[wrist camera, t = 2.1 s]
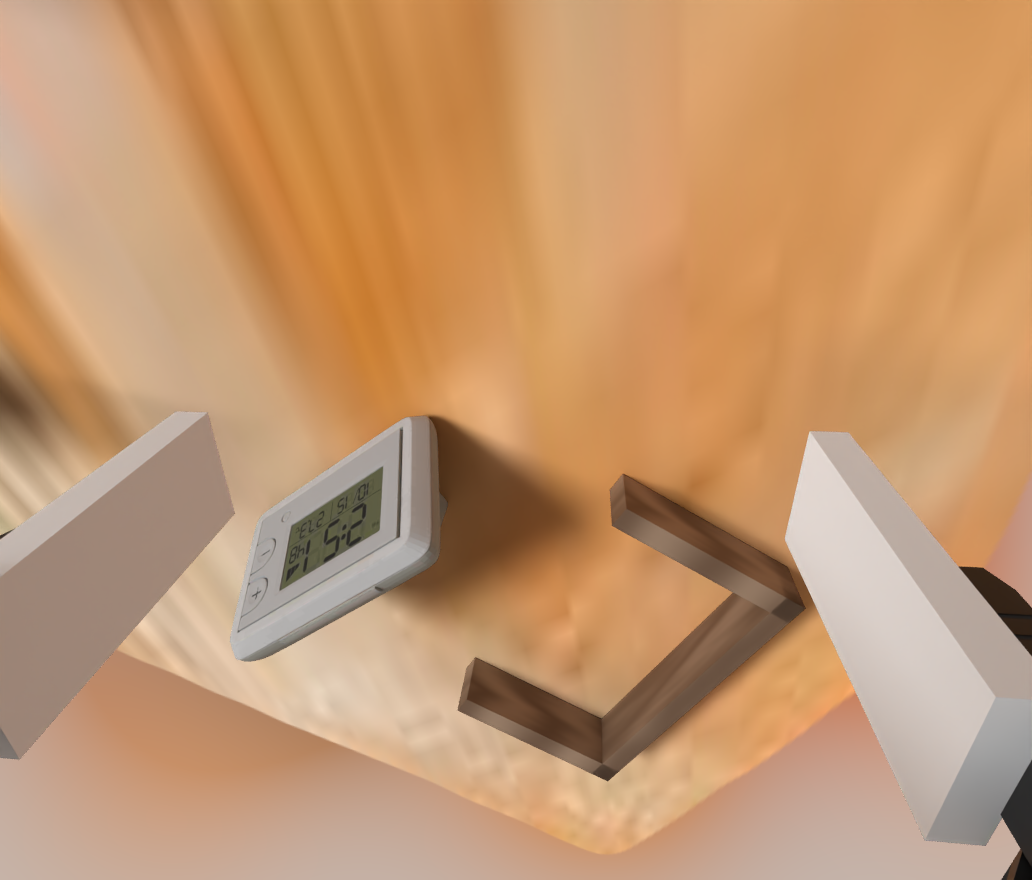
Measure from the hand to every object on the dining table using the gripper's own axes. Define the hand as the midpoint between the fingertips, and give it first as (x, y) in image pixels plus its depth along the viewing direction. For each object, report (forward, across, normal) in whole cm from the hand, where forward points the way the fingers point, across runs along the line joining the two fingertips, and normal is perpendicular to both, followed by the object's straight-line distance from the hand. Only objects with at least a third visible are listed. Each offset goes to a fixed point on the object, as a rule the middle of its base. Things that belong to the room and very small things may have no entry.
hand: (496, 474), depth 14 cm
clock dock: (+24, +4, -26) cm, 35 cm away
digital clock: (+24, -13, -16) cm, 31 cm away
